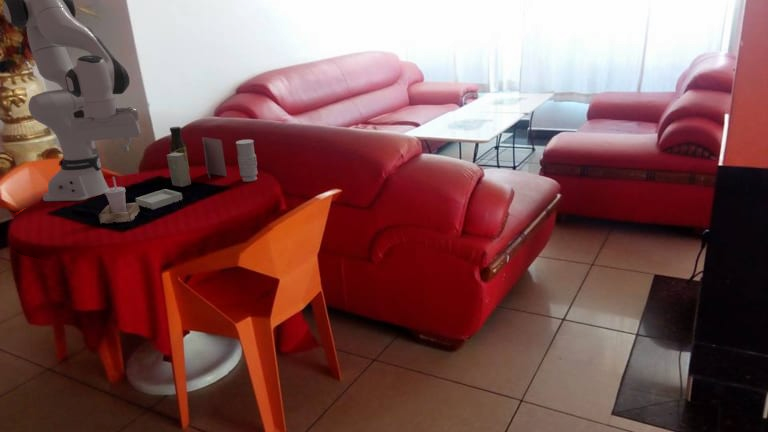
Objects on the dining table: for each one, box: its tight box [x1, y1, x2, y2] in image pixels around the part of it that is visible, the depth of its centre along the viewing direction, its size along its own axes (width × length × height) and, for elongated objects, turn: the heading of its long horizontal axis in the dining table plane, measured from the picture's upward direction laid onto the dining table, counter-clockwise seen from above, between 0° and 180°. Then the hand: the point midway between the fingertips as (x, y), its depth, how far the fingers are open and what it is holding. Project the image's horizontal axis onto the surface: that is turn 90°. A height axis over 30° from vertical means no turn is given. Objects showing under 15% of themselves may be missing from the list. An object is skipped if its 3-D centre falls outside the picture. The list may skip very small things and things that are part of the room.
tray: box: [135, 188, 184, 210], centre depth 212 cm, size 12×10×2 cm
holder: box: [98, 202, 140, 225], centre depth 198 cm, size 10×10×3 cm
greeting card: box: [201, 136, 227, 179], centre depth 238 cm, size 11×7×15 cm, turn 21°
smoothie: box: [104, 176, 127, 213], centre depth 196 cm, size 6×6×14 cm
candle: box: [235, 139, 259, 182], centre depth 231 cm, size 7×7×15 cm
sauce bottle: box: [169, 126, 190, 171], centre depth 239 cm, size 6×6×20 cm
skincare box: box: [166, 153, 192, 188], centre depth 229 cm, size 6×4×12 cm
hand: (110, 152), depth 191 cm, fingers open, 8 cm apart
